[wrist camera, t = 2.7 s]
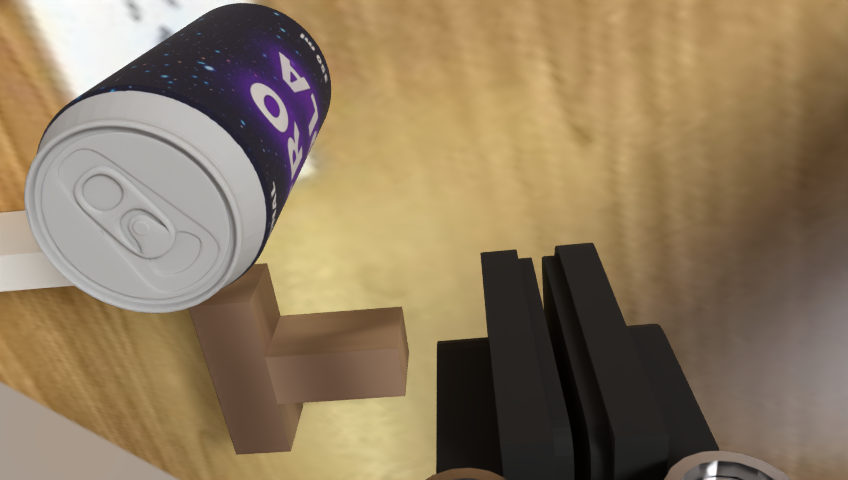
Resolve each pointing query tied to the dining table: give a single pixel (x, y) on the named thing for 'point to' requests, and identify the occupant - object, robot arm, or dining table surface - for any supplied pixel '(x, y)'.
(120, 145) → the beverage can
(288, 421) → the walnut T block
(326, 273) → the dining table surface
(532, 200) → the dining table surface
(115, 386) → the dining table surface
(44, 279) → the corral
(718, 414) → the dining table surface
